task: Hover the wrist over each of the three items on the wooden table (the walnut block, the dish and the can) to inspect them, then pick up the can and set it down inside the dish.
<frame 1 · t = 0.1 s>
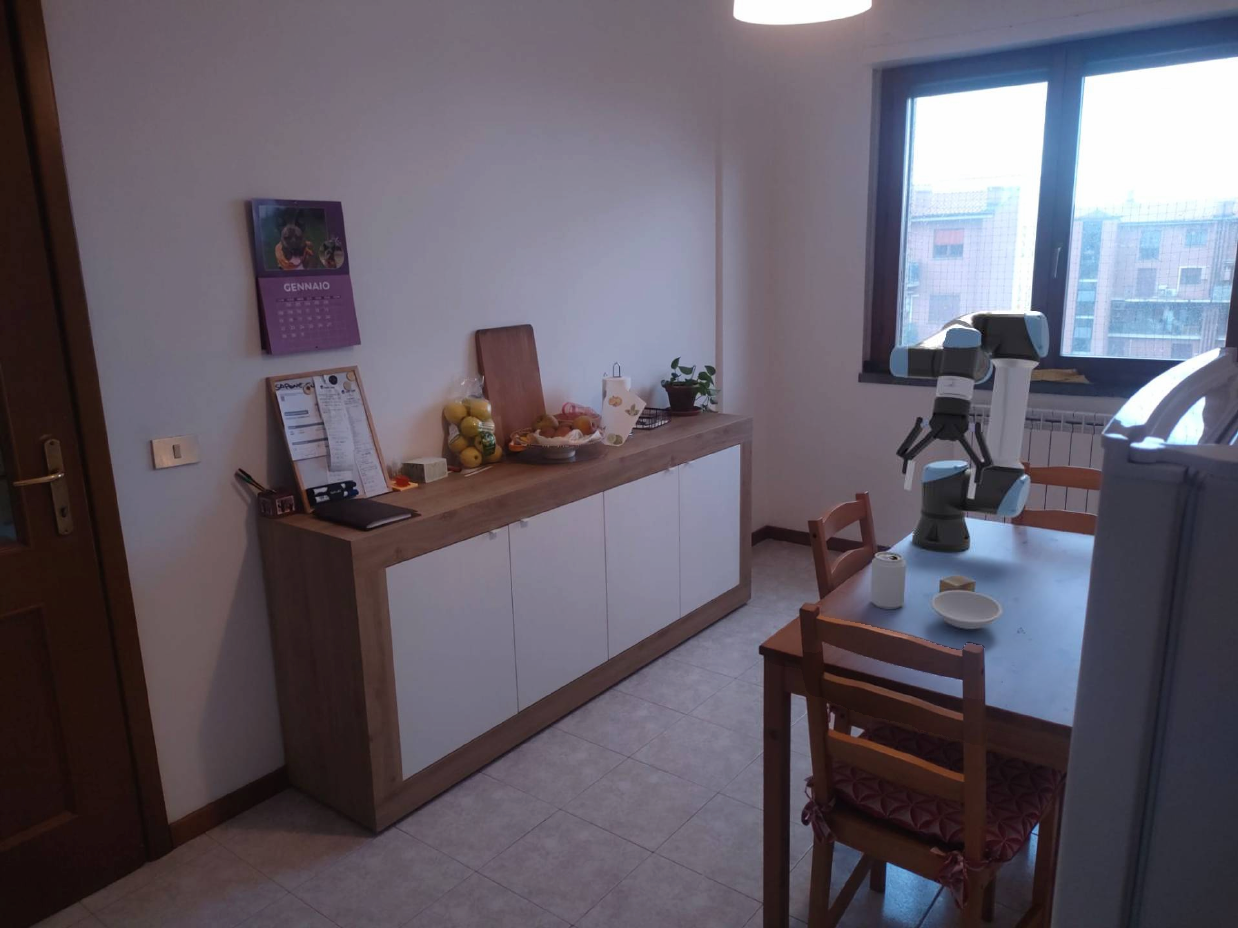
hand: (938, 494, 188), 28 cm above the table, tool tilted 20°, fingers open, 13 cm apart
can: (886, 604, 199), on the table
dish: (964, 627, 186), on the table
walnut block: (956, 596, 203), on the table
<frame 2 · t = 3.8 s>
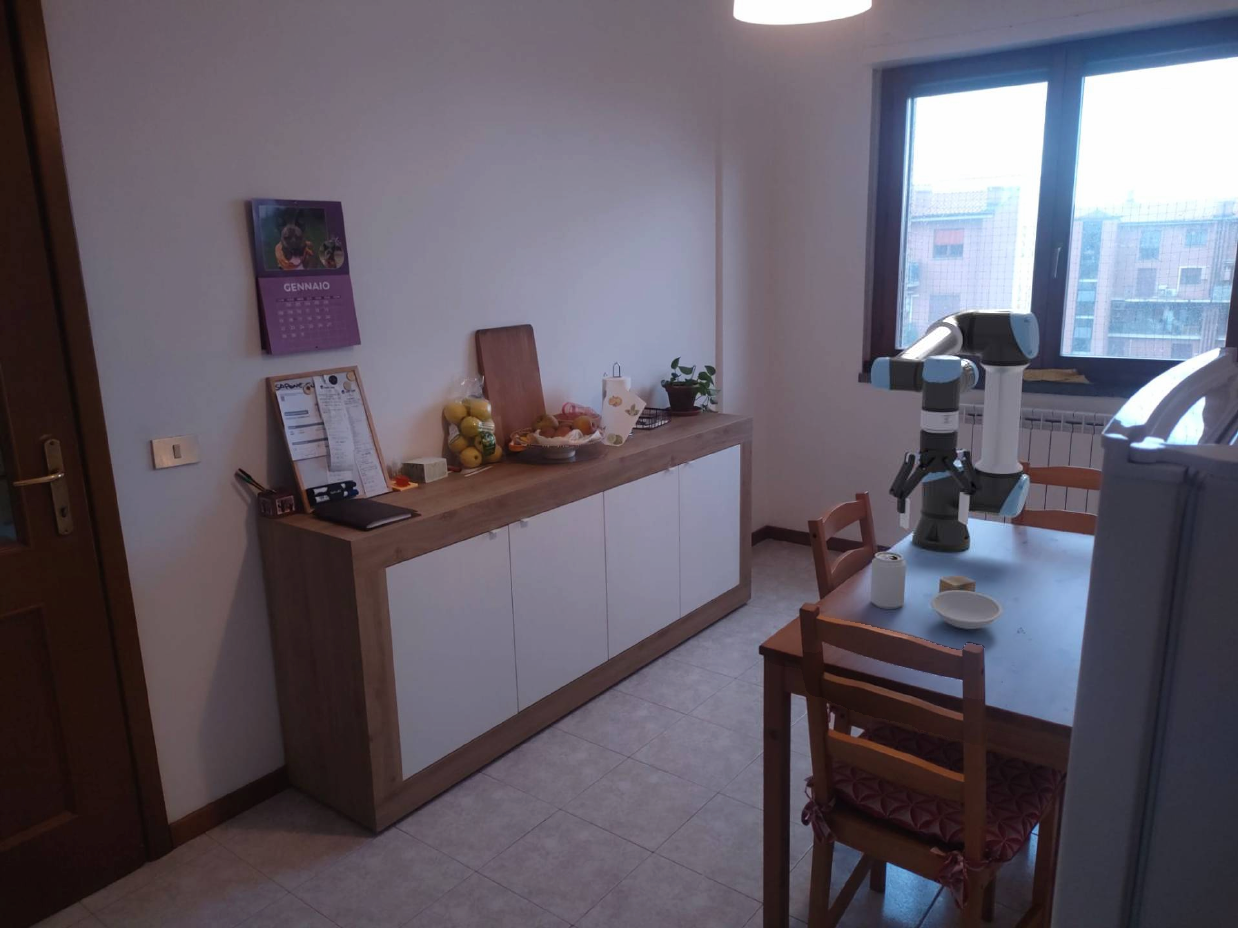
hand: (933, 524, 187), 21 cm above the table, tool pointing down, fingers open, 13 cm apart
nothing on the table moved.
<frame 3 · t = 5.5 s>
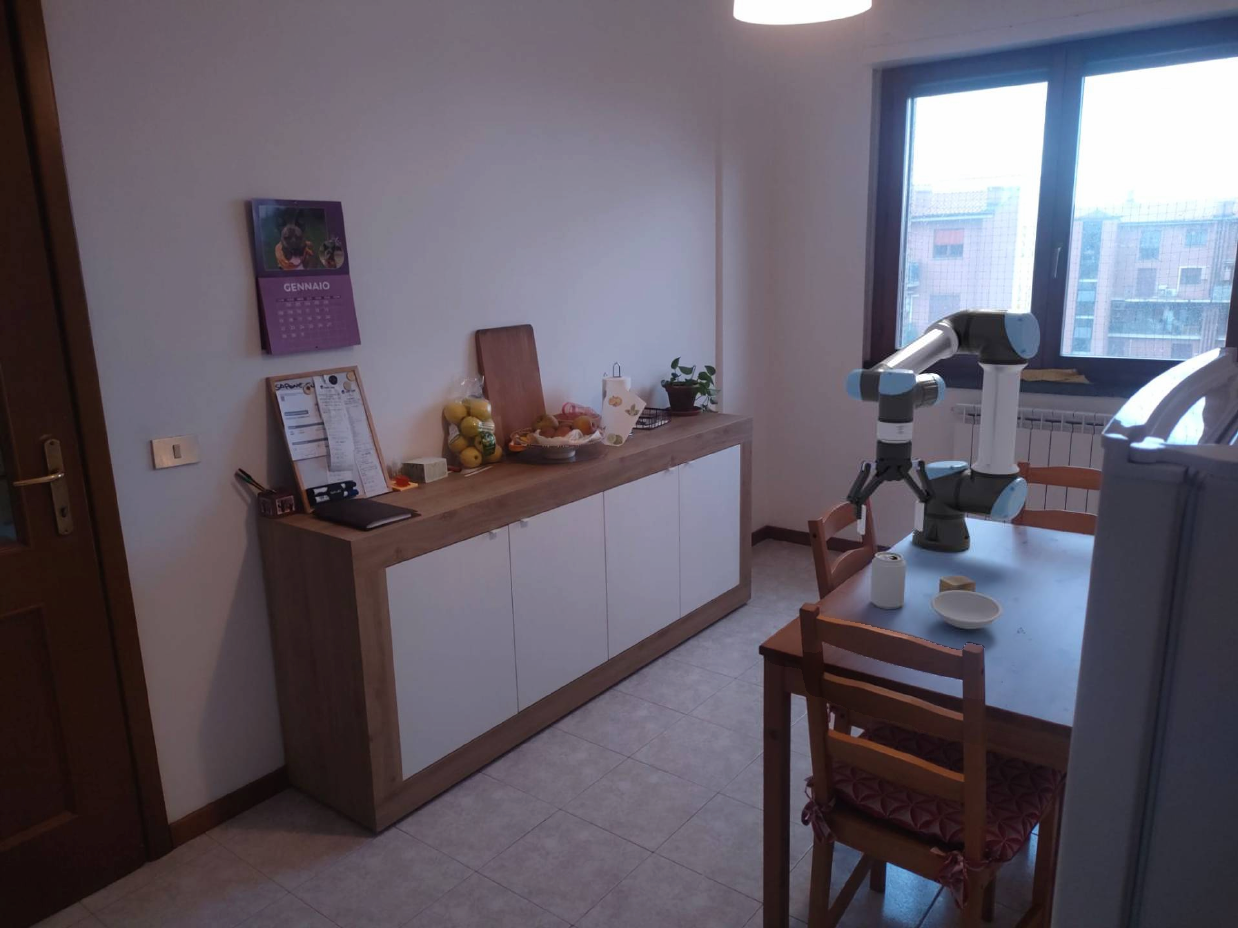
hand: (889, 531, 195), 18 cm above the table, tool pointing down, fingers open, 13 cm apart
nothing on the table moved.
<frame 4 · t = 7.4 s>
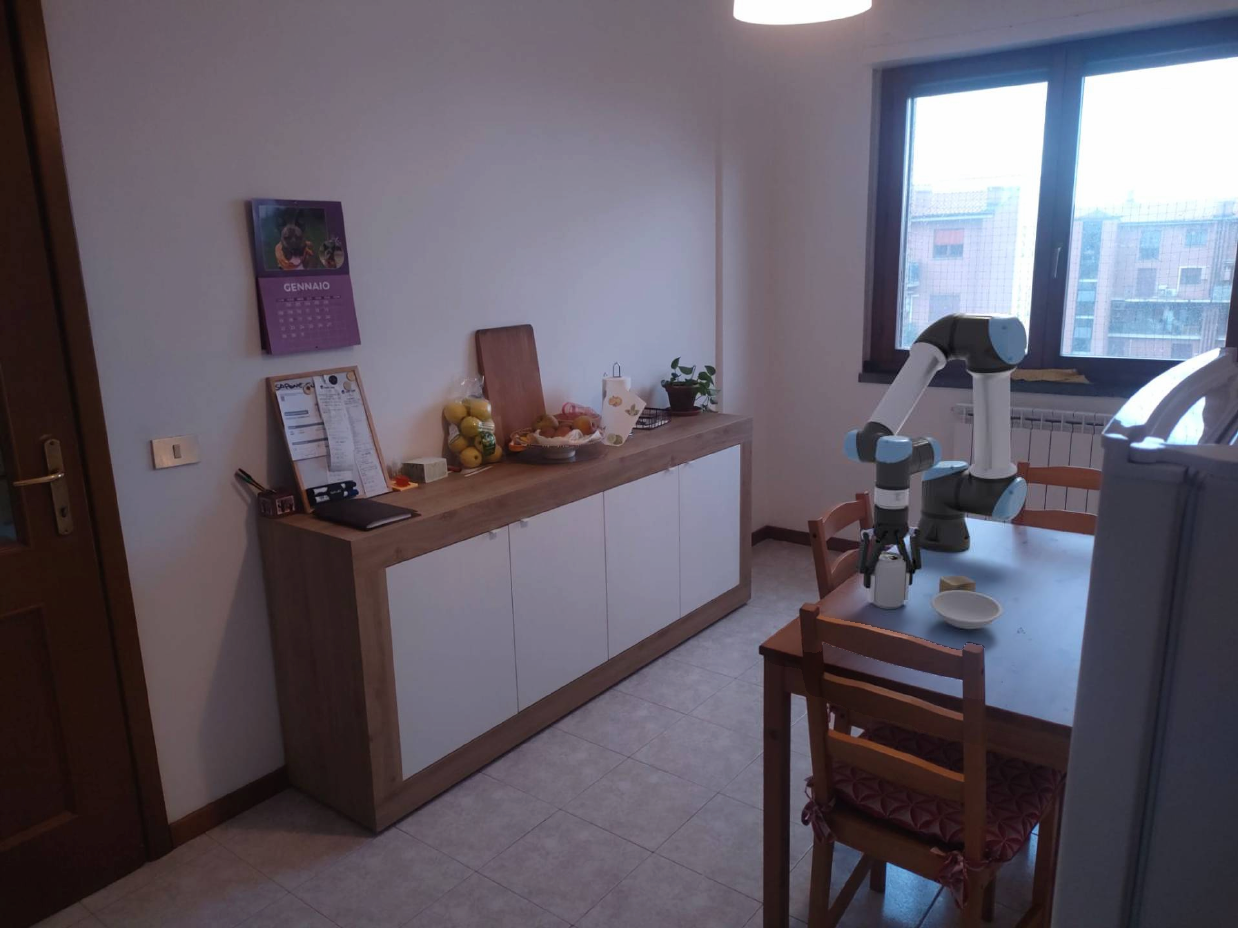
hand: (887, 599, 199), 1 cm above the table, tool pointing down, fingers closed on can, 7 cm apart
can: (886, 604, 199), on the table, touching gripper
everything else where it was.
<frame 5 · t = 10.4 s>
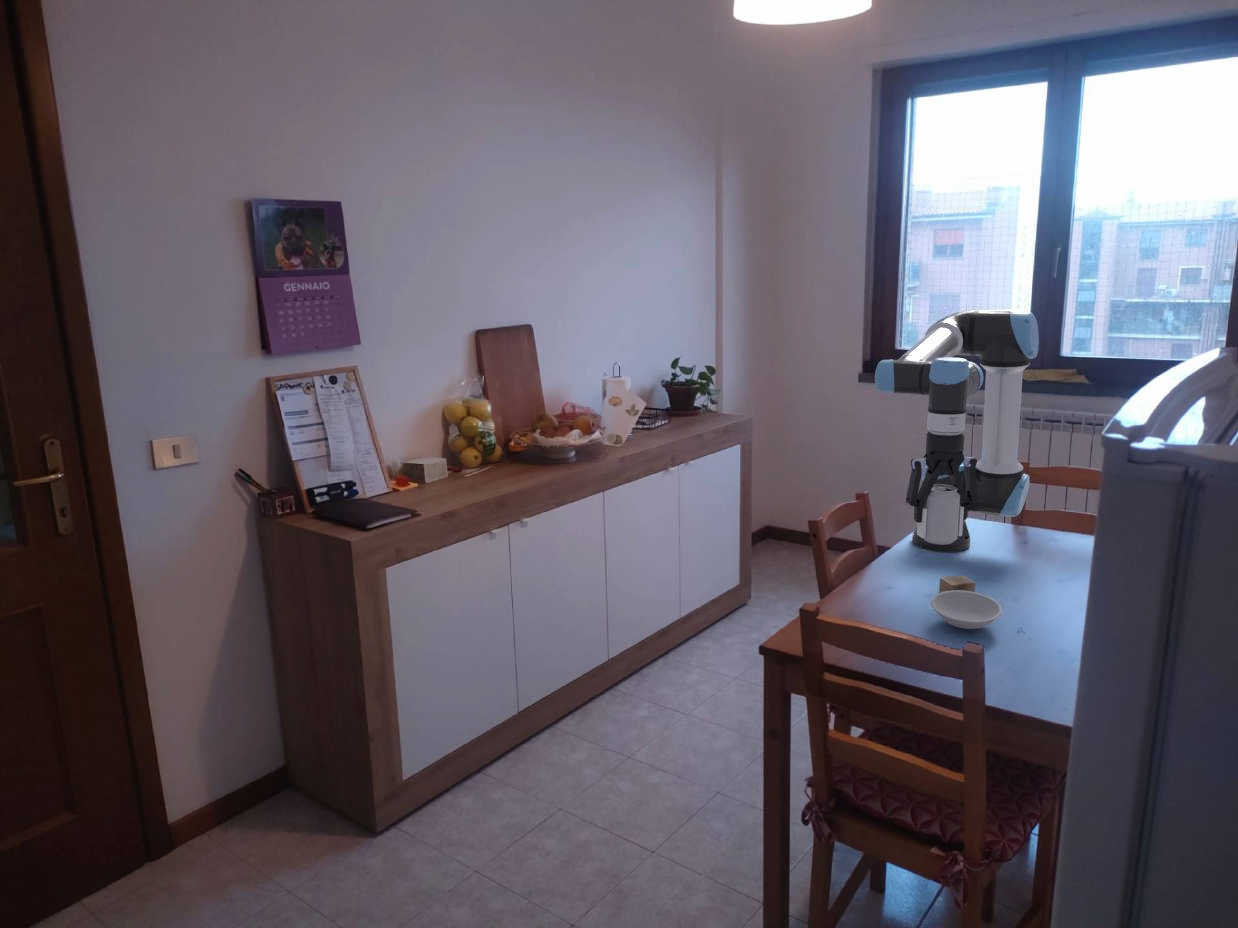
hand: (939, 535, 186), 19 cm above the table, tool pointing down, fingers closed on can, 7 cm apart
can: (938, 541, 187), point 18 cm above the table, touching gripper
everything else where it was.
when the fingers open (7 cm above the table, at t = 13.5 s): can stays where it is, resting on dish.
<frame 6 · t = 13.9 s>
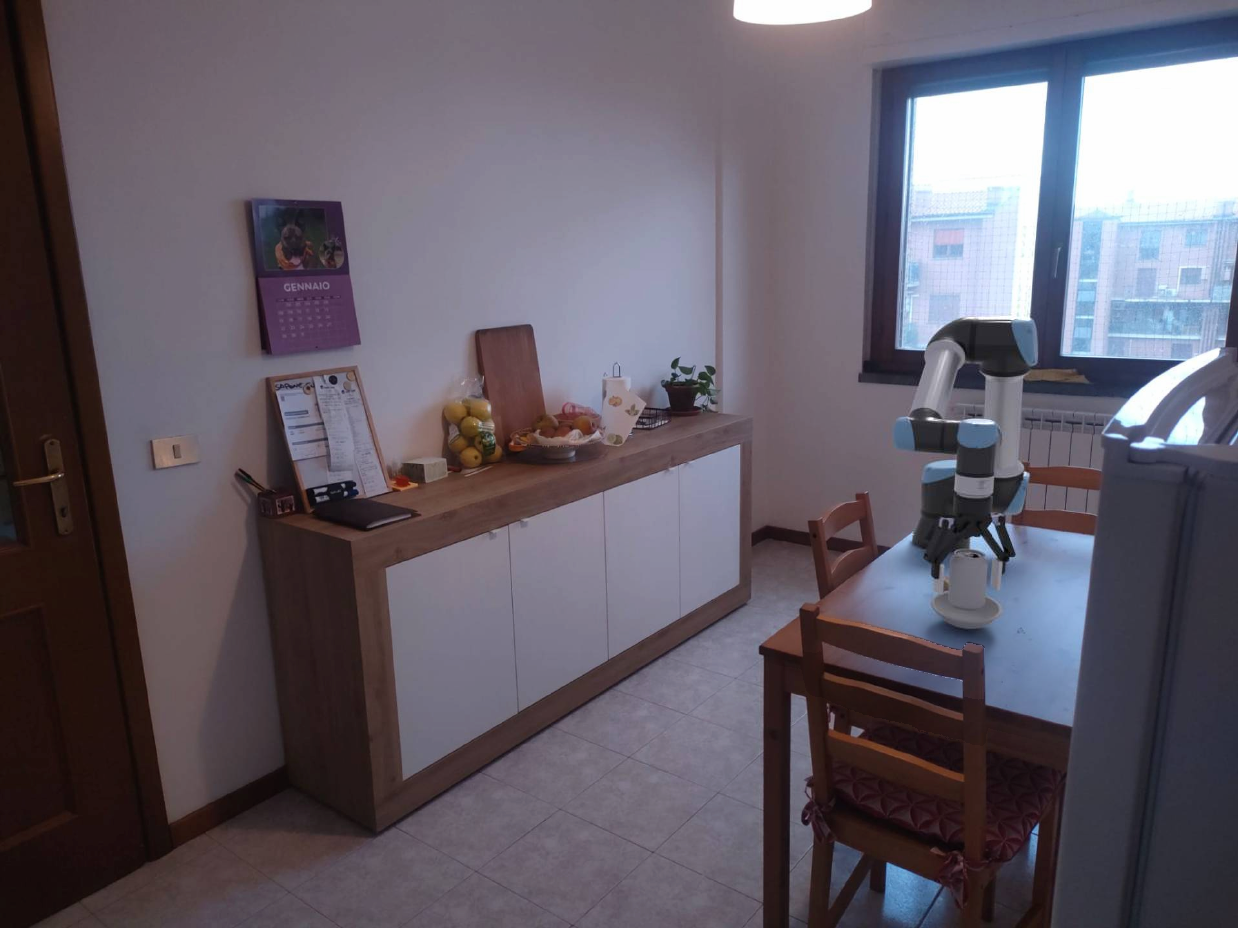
hand: (966, 590, 184), 8 cm above the table, tool pointing down, fingers open, 12 cm apart
can: (965, 606, 185), point 5 cm above the table, touching dish
dish: (964, 627, 186), on the table, touching can
everything else where it was.
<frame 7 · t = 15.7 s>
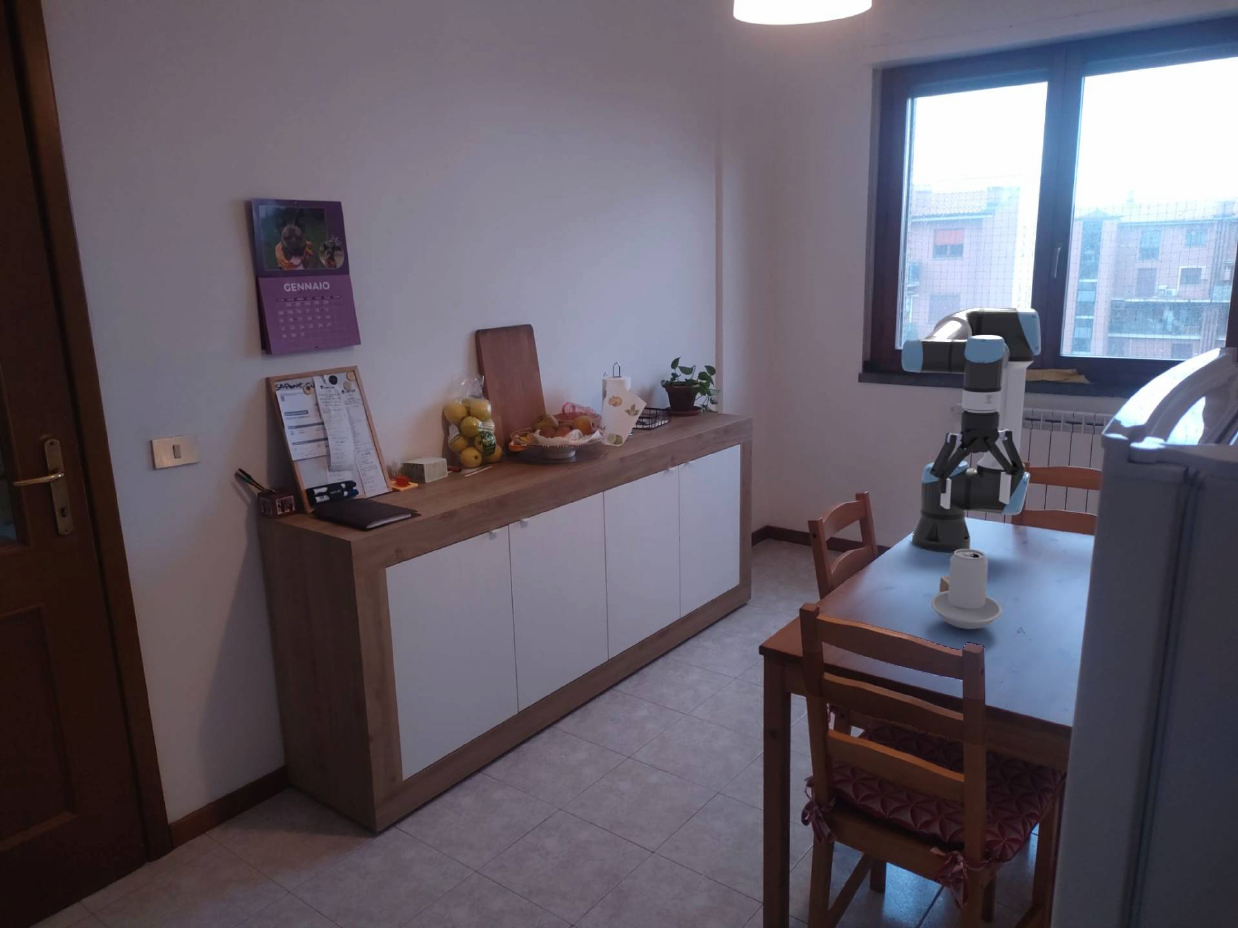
hand: (974, 504, 188), 25 cm above the table, tool pointing down, fingers open, 13 cm apart
nothing on the table moved.
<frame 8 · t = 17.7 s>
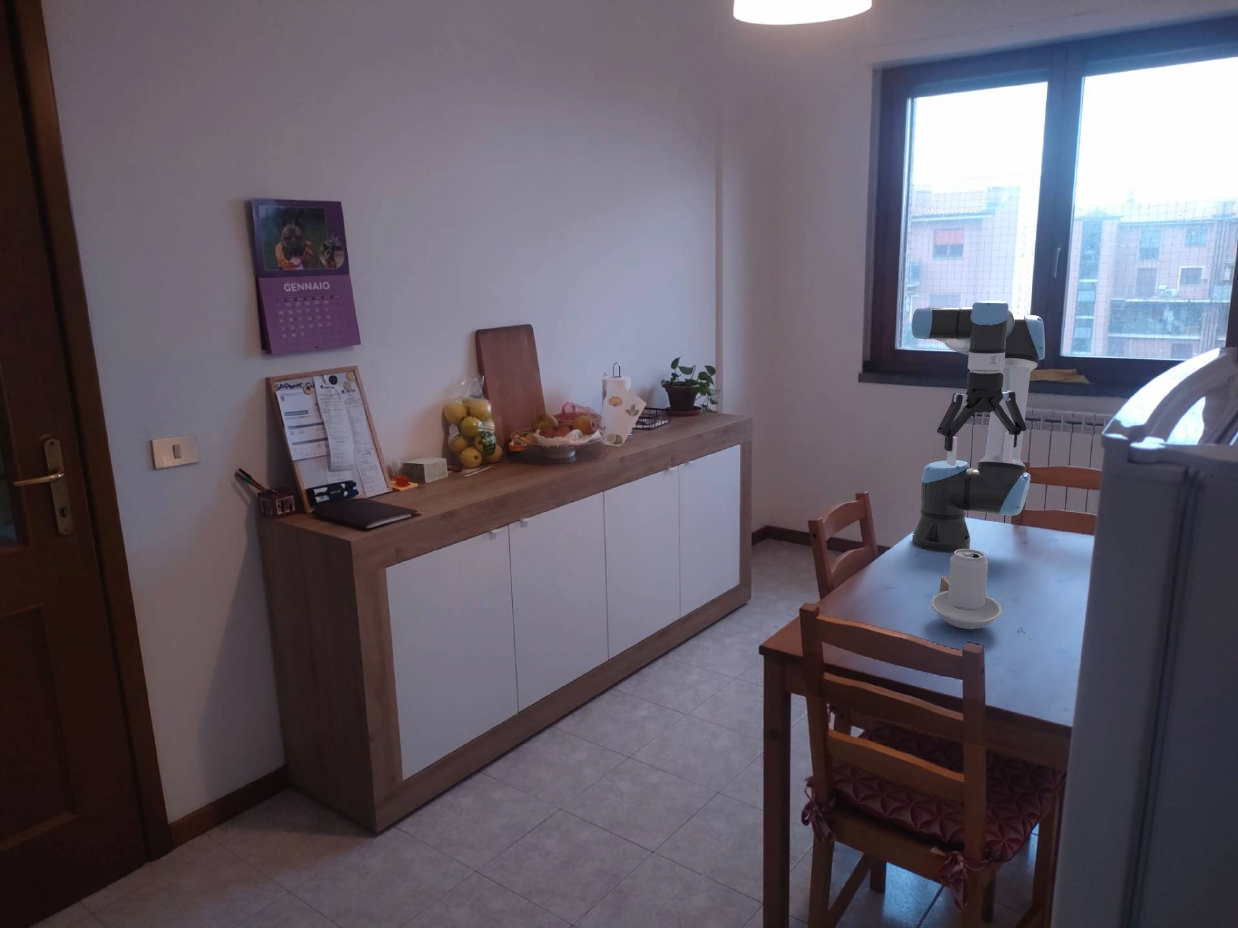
hand: (979, 463, 197), 32 cm above the table, tool pointing down, fingers open, 13 cm apart
nothing on the table moved.
at the end: can 0.2 cm from the dish (horizontally); can tilted 0°; can touching dish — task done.
